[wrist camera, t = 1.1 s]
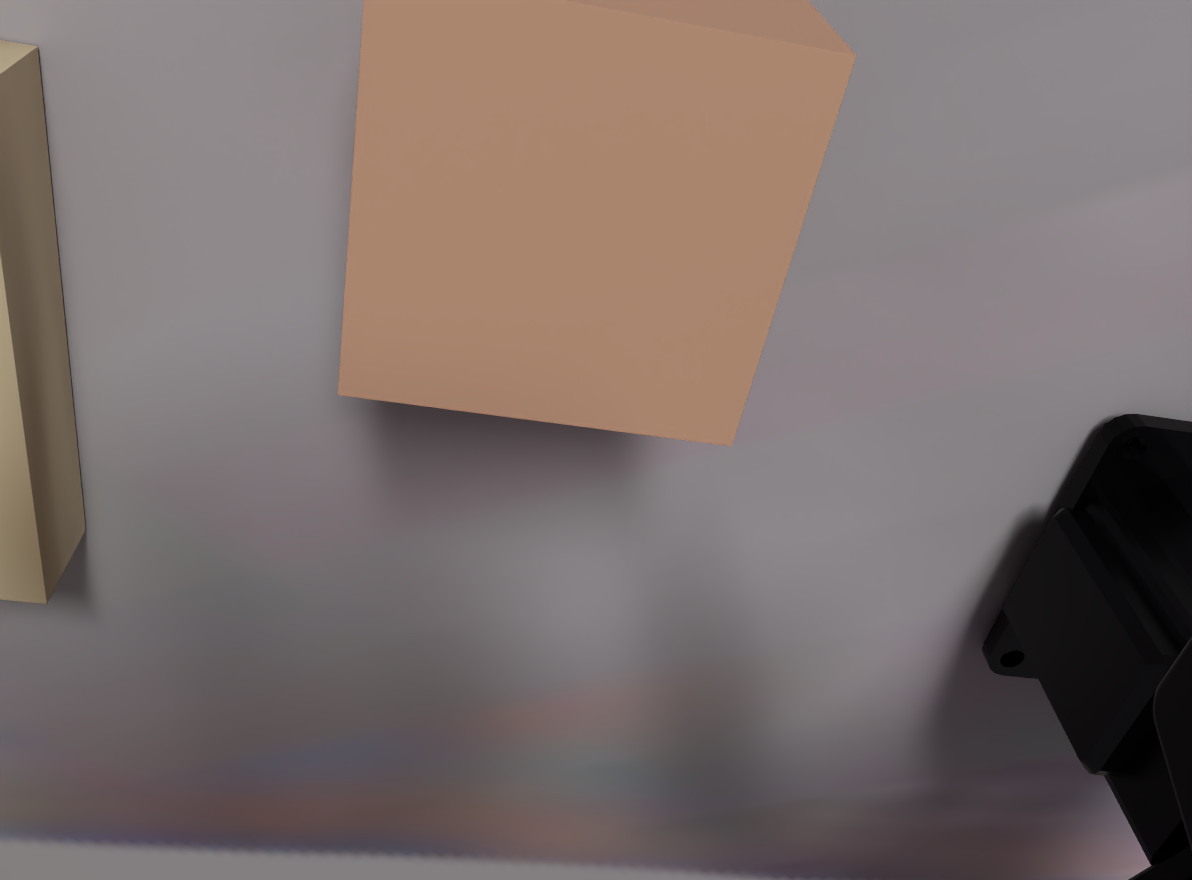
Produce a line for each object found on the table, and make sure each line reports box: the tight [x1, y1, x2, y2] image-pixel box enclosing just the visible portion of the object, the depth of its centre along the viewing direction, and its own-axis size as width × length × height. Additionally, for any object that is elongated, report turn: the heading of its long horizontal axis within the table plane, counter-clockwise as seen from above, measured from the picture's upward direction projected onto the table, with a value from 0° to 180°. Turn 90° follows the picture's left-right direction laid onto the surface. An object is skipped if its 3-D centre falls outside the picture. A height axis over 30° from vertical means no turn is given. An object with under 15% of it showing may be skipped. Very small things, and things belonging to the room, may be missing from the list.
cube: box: [338, 0, 857, 446], centre depth 14 cm, size 5×5×5 cm
